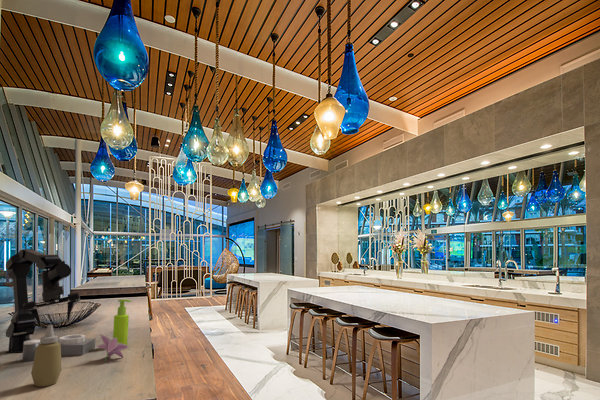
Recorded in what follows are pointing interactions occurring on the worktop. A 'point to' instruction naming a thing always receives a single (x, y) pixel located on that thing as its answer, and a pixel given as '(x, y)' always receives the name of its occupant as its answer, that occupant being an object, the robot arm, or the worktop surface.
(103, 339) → the lily
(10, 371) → the worktop surface
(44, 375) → the squeeze bottle
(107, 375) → the worktop surface
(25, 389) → the worktop surface
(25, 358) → the grey block
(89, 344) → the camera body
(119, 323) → the soap dispenser
